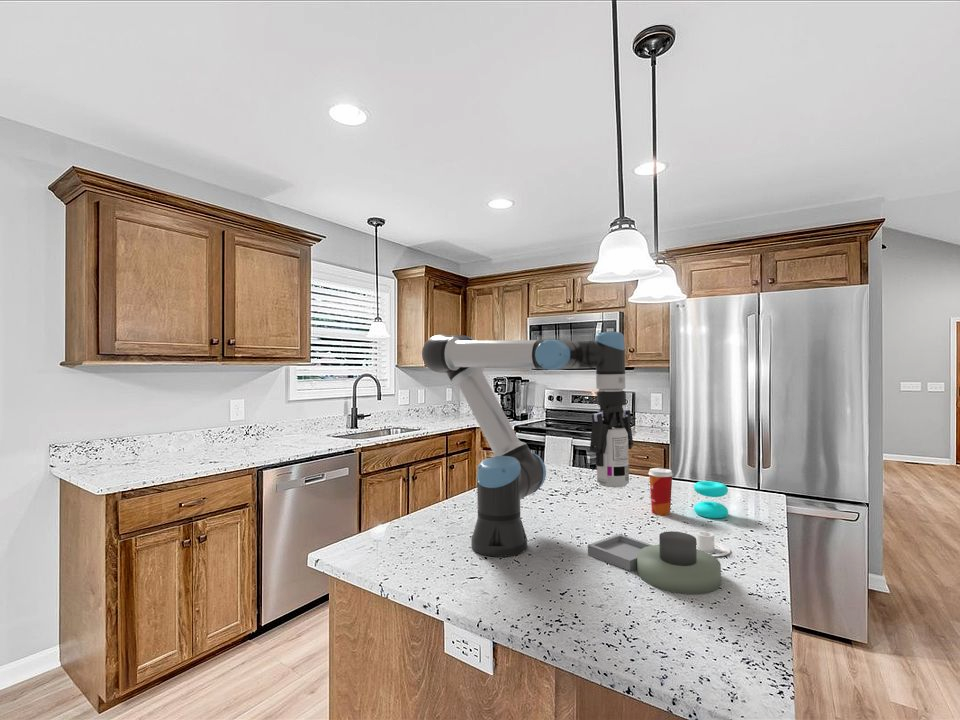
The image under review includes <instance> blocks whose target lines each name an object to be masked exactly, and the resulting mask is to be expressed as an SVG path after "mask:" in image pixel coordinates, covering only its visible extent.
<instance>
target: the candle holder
mask: <svg viewBox="0 0 960 720" xmlns="http://www.w3.org/2000/svg"><path fill="white" fill-rule="evenodd" d="M715 547H718V548H720V549H721V550H722V552H721V553H718V554H717V553H716V554H715V553H714V554H711V555H712V556H714V557H723V556H727V555H729V554H730V553H731V548H730V547H728V546H727V545H725V544H723V543H720V542H717V541H715V534H714V533H712V532H709V531H703V530H702V531H698V532H697V533H696V549H698V550H701V551H704V552H706V553H710V552H714V551H715Z"/></svg>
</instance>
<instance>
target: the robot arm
mask: <svg viewBox="0 0 960 720" xmlns="http://www.w3.org/2000/svg"><path fill="white" fill-rule="evenodd" d="M594 337H595V338H594V339H593V340H561V339H560V340H559V339H556V338H552V339H550V338H549V339H541V340H537V339H527V340H526V339H516V340H515V339H514V340H512V339H508V340H507V339H505V340H503V339H501V340H499V339H497V340H496V339H495V340H490V339H489V340H485V339H484V340H476V339H474V338H472V337H470V336H468V335H463V334H461V335H460V334H459V335H450V334H437V335H433V336H431V337H430V338H428V339H427V340H426V341H425V343H424V344H423V347H422V350H421V356H422V361H423V363H424V365H425V366H426V367H427V369H429V370H431V371H432V372H435V373H438V374H439V373H440V374H444V373H445V374H447V376H448V378H449V380H450V382H451V384H452V385H456V386H457V387H459V389H460V390H461V393H462V395H463V397H464V399H465V400H466V402H467V404H468V407H469V408H470V411H471V412H472V414H473V416H474V418H475V420H476V423H477V424H478V426H479V428H480V430H481V432H482V434H483V436H484V438H485V439H486V441H487V444H488V445H489V447H490V449H491V451H492V453H493V456H491V457H488V458H485V459H482V460H481V462H479V463H478V465H477V473H476V483H477V486H476V488H477V489H476V491H477V492H476V493H477V520H476V523H475V526H474V530H473V534H472V535H471V539H470V540H471V549H472V550H473V551H474V552H476V553H477V554H481V555H484V556H489V557H494V558H495V557H501V558H502V557H511V556H516V555H519V554H521V553H523V552H525V551H526V550H527V548H528V537H527V534H526V530H525V528H524V525H523V522H522V519H521V500H522V499H524V498H525V497H527V496H531V495H533V494H534V493H536V492H537V491H538V490H539V489H540V488H541V487H542V486H543V485H544V484H545V481H546V477H547V469H546V465H545V462H544V460H543V459H542V458H541V457H540V455H538V454H536V453H534V452H532V451H531V449H530V448H529V445H528V443H527V442H525V441H521V440H520V439H519V438H518V436H517V434H516V432H515V430H514V429H513V427H512V424H511V423H510V421H509V419H508V417H507V415H506V413H505V411H504V409H503V408H502V406H501V404H500V402H499V400H498V398H497V397H496V395H495V392H494V391H493V390H492V387H491V385H490V384H489V382H488V380H487V378H486V376H485V375H484V371H485V369H489V368H491V369H492V368H493V369H495V368H496V369H530V370H531V369H535V370H536V369H537V370H548V371H558V370H570V369H594V368H595V370H596V372H595V373H596V374H595V379H596V380H595V383H596V384H595V385H596V386H595V389H597V392H596V404H597V405H598V406H599V411H598V412H597V413H595V412H593V413H591V420H592V421H591V423H592V426H591V435H590V444H589V451H590V452H591V453H595V464H596V465H595V466H596V479H597V478H601V479H608V477H607V454H605V449H606V445H607V433H608V430H611V429H612V427H615V428H623V427H624V428H625V429H626V431H627V433H628V450H632V448H633V446H634V439H633V433H632V424H631V410H630V409H624V408H623V407H624V406H625V405H626V404H627V394H626V391H625V389H626V347H625V346H626V345H625V336H624V334H623V333H622V332H619V331H609V332H608V331H605V332H597V333H595V336H594Z"/></svg>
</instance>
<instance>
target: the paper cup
mask: <svg viewBox="0 0 960 720" xmlns="http://www.w3.org/2000/svg"><path fill="white" fill-rule="evenodd" d="M647 475H649V490H650V503H651V504H650V505H651V513H652V514H653V515H656V516H663V515H664V516H669V515H671V506H672V505H671V503H672V486H673V485H672V484H673V482H672V481H673V476H674V473H673V472H672V470H671V469H668V468H661V467H654V468H650V469H649V472H648V473H647Z"/></svg>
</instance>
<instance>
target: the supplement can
mask: <svg viewBox="0 0 960 720" xmlns="http://www.w3.org/2000/svg"><path fill="white" fill-rule="evenodd" d="M628 441H629V440H628V433H627V431H626V429H625V428H624V427H623V428H615V427H612V429H611V430H608V433H607V445H606V449H605V454H607V477H608V479H601V478H597V477H596V481H597V483H599V485H600V486H602V487H605V488H606V487H607V488H616V489H617V488H625V487H627V485H628V484H629V483H630V474H629V473H630V472H629V471H630V467H629V464H630V463H629V462H630V461H629V449H628Z"/></svg>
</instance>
